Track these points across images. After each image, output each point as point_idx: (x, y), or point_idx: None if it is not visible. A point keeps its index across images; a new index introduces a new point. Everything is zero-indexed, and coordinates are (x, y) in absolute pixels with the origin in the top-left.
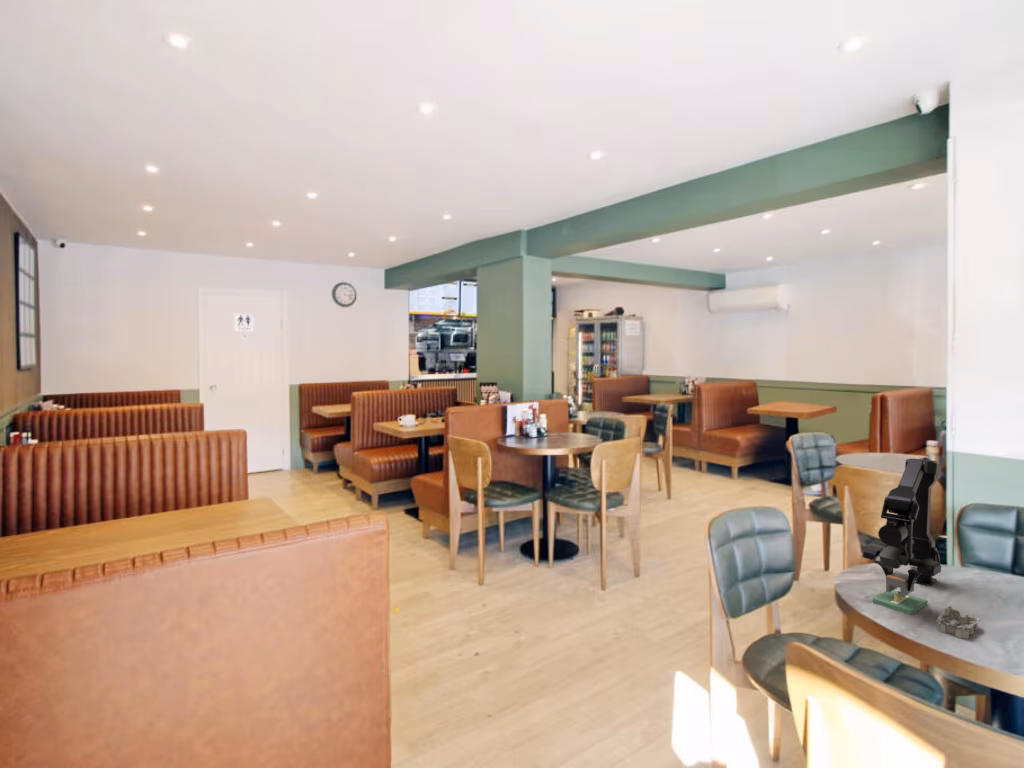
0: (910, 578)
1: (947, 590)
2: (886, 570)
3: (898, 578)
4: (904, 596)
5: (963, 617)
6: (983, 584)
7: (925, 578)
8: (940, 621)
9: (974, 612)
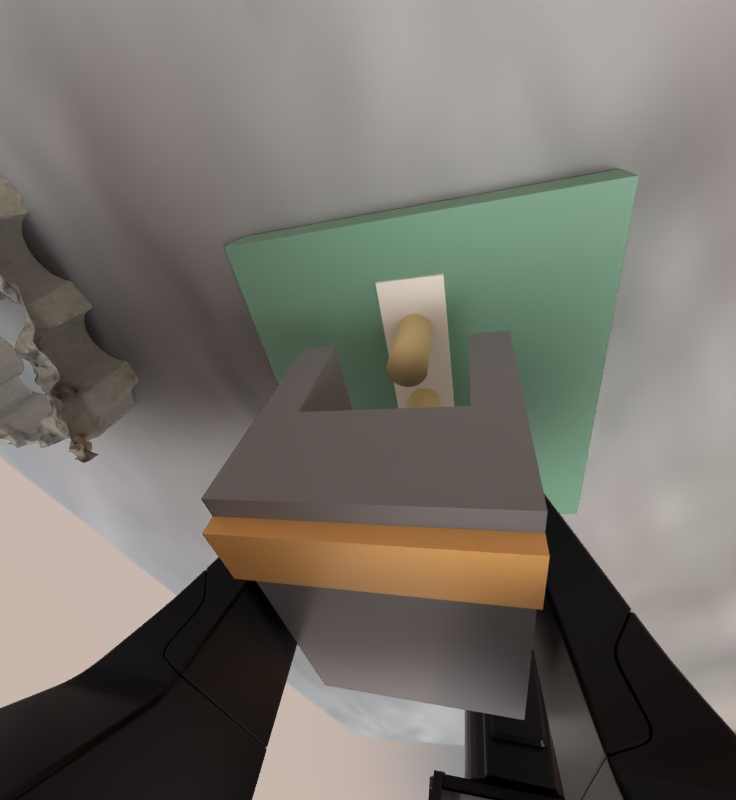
0: (189, 621)
1: None
2: (628, 720)
3: (316, 558)
4: None
5: (44, 416)
6: (359, 693)
7: None
8: None
9: (197, 530)
